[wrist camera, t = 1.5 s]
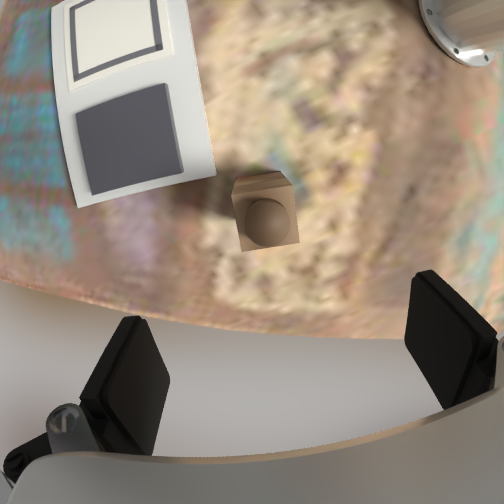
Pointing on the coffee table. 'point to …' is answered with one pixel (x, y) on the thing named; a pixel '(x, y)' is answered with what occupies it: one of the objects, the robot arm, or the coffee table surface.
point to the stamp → (265, 211)
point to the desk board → (128, 97)
